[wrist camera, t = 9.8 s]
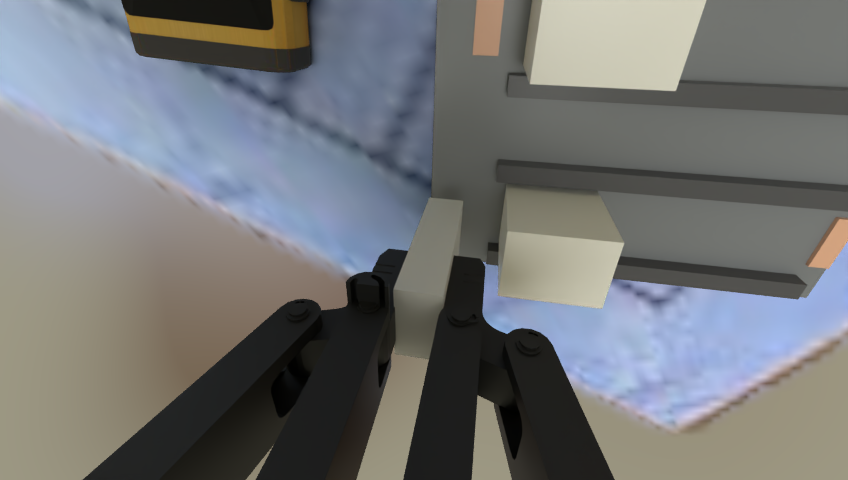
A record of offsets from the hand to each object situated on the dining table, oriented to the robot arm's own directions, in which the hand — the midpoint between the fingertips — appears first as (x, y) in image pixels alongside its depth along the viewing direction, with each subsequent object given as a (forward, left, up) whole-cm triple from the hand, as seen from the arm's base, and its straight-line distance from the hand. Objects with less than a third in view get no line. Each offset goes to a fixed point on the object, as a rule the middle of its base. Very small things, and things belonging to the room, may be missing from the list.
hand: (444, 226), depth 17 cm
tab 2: (0, +5, -2) cm, 5 cm away
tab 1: (-8, +5, -2) cm, 9 cm away
